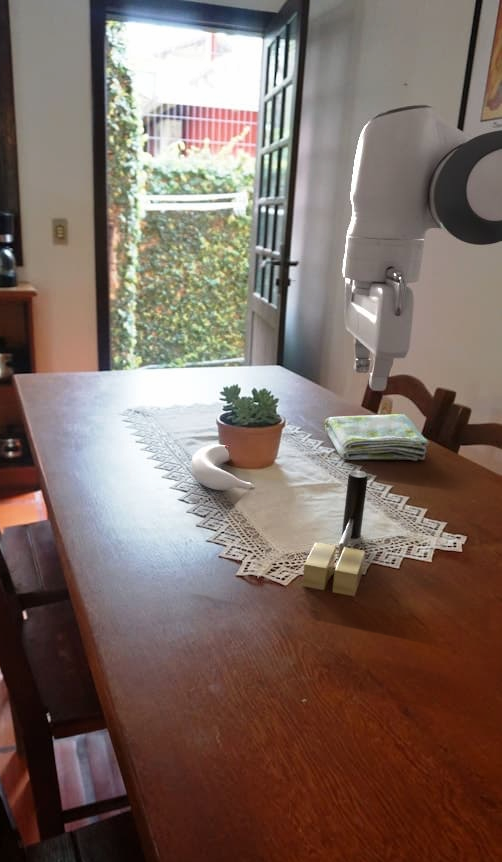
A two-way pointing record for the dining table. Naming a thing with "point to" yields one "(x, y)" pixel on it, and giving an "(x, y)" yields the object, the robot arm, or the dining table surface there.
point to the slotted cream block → (345, 572)
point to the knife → (353, 508)
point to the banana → (214, 469)
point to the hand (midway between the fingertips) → (368, 380)
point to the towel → (376, 437)
